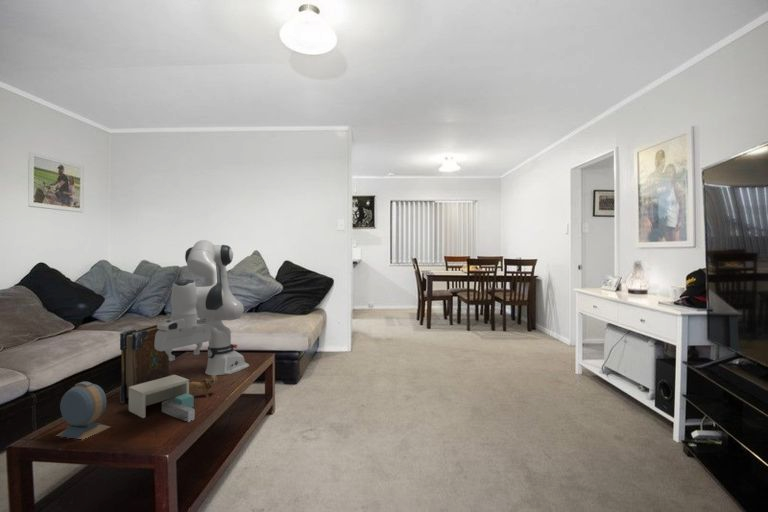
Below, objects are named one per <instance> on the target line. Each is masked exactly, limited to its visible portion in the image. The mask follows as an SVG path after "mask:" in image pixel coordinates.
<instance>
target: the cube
mask: <svg viewBox="0 0 768 512" xmlns="http://www.w3.org/2000/svg"><path fill="white" fill-rule="evenodd" d="M194 398H195V396H194V394H191V395H190V394H187V393H186V394H183V395H180V396H177V397H175V403H178V404H181V405H184V406H187V407H190V408H192V407H193V408H194V406H195V405H194V401H195V399H194Z"/></svg>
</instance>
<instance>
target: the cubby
mask: <svg viewBox="0 0 768 512" xmlns="http://www.w3.org/2000/svg"><path fill="white" fill-rule="evenodd" d="M189 383H190V379H188V378H185V377H183V376H179V375H176V374H171V375H169V376H168V377H164V378H160V379H156V380H153V381H149V382H145V383H142V384H138V385H134V386H131V387H129V401H128V412H130V413H133V414H134V415H137V416H138V417H140V418H142V419H144V418H146V407H148V406H151V405H154V404H157V403H160V402H161V403H162V402H164V401H166V400H169V399H172V398H175V397H177V396H180V395H183V394H186V393H187V394H189Z"/></svg>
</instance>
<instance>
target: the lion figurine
mask: <svg viewBox="0 0 768 512" xmlns="http://www.w3.org/2000/svg"><path fill="white" fill-rule="evenodd" d="M217 382H218V375H214V374H213V375H208V377H206V378H205V379H203V380H202V381H199V382H198V381H189V394H190V395H192V393H193V391H194V390H195V391H204V397H206V398H209V391H210V390H212V389H213V388H214V386H216V385H217Z"/></svg>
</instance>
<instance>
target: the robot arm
mask: <svg viewBox="0 0 768 512" xmlns="http://www.w3.org/2000/svg"><path fill="white" fill-rule="evenodd" d="M233 258H234V251H233V250H232V248H231V246H229V245H226V244H221V245H220V244H213V243H212V242H211V241H209V240H206V239H205V240H204V239H202V240H199V241H196V243H194V245H193V246H192V247H189V248H188V249H187V250H186V251H185V256H184V260H185V263H186V266H187V269H188V270H189V272H190V273H192V274H193V275H194V276H197V277H201V278H204V284H205V285H204V286H197V285H196V284H197V283H196V281H195V280H193V279H189V278H188V279H179V280H176V281H174V282H173V283H172V287H171V295H170V296H171V297H170V299H171V300H170V304H171V307H172V308H171V309H172V311H171V314H170V315H171V316H170V317H169V318H167V319H165V320H162V322H159V323H157V324H156V325H157V329H159V330H158V331H157V332H156V335H155V343H154V347H155V349H156V350H157V351H165V352H166V354H167V355H168V356H169V362H172V361H175V360H176V355H174V354H172V352H173V350H174V349H179V348H183V347H188V346H193V345H196V347H195V349H194V350H193V355H194V356H197V355H200V350H201V349H202V347H203V343H208V346H207V363H206V369H205V374H206V375H208V376H210V375H213V374H214V375H216V376H223V375H231V374H235V373H237V372H239V371H242V370H244V369H247V368H249V367H250V364H249V363H247V362H246V361H245V358H244V356H243V354H241V353H239V352H238V351H236V350H235V349H238V344H232V331H231V329H230V328H229V327H228V326H226V325H225V324H224V323H223V321H234V320H239V319H241V317H242V316H243V315H244V313H245V311H244V310H245V309H244V304H243V303H242V302H241V301H239V300H238V299H237V298H236V297H235V296H234V295H233V293H232V291H231V289H230V285H229V280H228V272H227V271H228V270H227V266H228V265H230V264H231V263H232V262H233Z"/></svg>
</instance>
